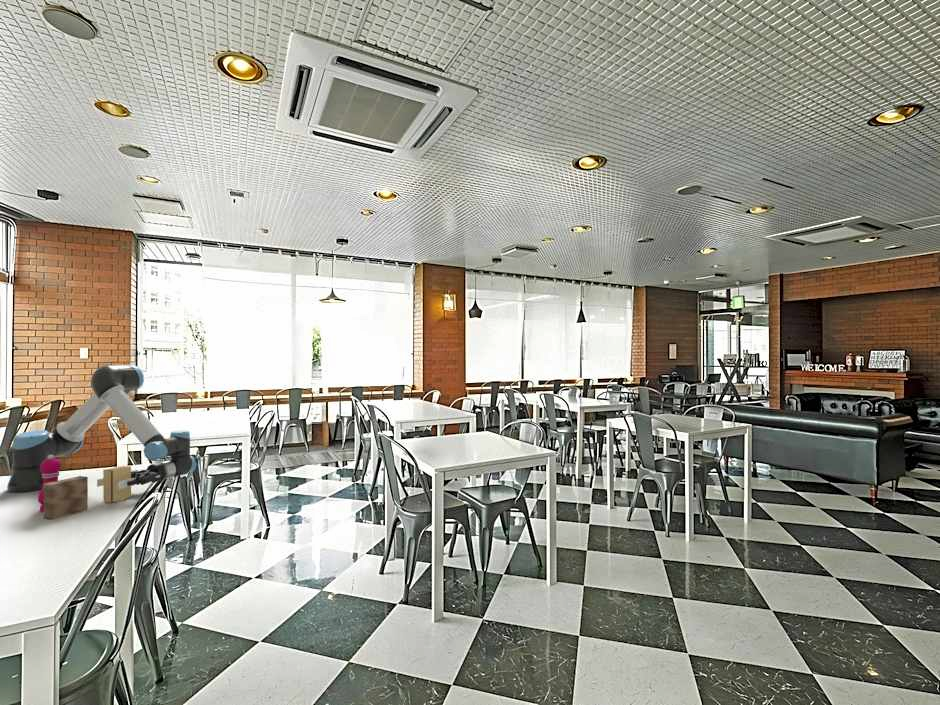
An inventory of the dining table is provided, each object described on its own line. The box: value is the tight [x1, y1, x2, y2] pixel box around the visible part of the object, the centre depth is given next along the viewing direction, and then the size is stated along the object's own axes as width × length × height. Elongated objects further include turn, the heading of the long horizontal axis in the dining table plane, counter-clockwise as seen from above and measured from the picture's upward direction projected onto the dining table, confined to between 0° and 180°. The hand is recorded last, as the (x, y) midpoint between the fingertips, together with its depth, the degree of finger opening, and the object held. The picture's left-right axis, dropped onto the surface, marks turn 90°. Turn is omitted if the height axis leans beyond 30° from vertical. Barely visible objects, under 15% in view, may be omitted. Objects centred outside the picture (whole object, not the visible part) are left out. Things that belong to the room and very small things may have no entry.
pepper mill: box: [37, 455, 62, 513], centre depth 188 cm, size 7×7×20 cm
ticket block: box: [43, 475, 89, 521], centre depth 183 cm, size 12×4×12 cm, turn 160°
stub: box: [102, 465, 132, 504], centre depth 200 cm, size 8×4×12 cm, turn 160°
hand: (107, 484), depth 197 cm, fingers open, 10 cm apart
